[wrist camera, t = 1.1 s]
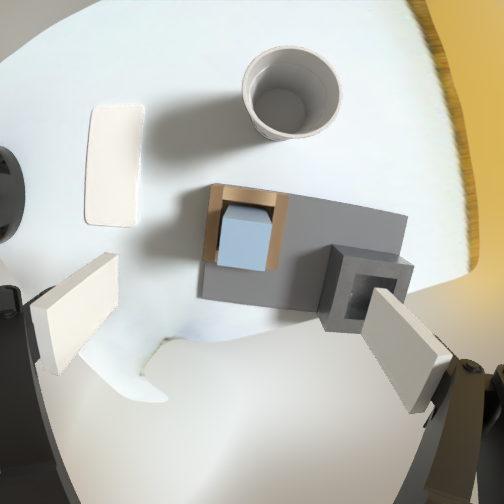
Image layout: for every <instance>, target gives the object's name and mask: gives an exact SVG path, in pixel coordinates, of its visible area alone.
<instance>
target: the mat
mask: <svg viewBox="0 0 504 504" xmlns="http://www.w3.org/2000/svg"><path fill="white" fill-rule="evenodd" d="M215 184H219V183H215ZM223 185H227V184H223ZM231 186H234V185H231ZM239 187H242V186H239ZM246 188H249V187H246ZM253 189H256V188H253ZM260 190H263V189H260ZM267 191H270V190H267ZM273 192H276V191H273ZM280 193H283V192H280ZM286 194H287V195H288V196H289V201H288V208H287V214H286V220H285V226H284V232H283V238H282V244H281V249H280V255H279V261H278V267H277V270H270V269H265V271H257V270H250V269H242V268H235V267H227V266H220V265H217V262H211V261H205V271H204V281H203V291H202V298H203V299H210V300H217V301H224V302H232V303H239V304H247V305H255V306H263V307H272V308H281V309H290V310H299V311H309V312H317V308H318V304H319V300H320V296H321V291H322V287H323V283H324V278H325V274H326V269H327V265H328V260H329V255H330V250H331V245H332V244H335V245H342V246H349V247H355V248H362V249H368V250H374V251H381V252H387V253H393V254H397V255H399V254H400V250H401V246H402V242H403V237H404V233H405V228H406V223H407V219H408V216H405V215H401V214H396V213H391V212H387V211H382V210H377V209H372V208H367V207H362V206H357V205H352V204H346V203H341V202H336V201H330V200H325V199H319V198H313V197H307V196H301V195H295V194H289V193H286Z"/></svg>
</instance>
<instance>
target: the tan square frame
mask: <svg viewBox="0 0 504 504" xmlns="http://www.w3.org/2000/svg"><path fill="white" fill-rule="evenodd" d="M288 201H289V196H288V195H287V194H286V193H280V192H273V191H267V190H260V189H253V188H246V187H239V186H231V185H223V184H212V185H211V191H210V198H209V207H208V215H207V223H206V232H205V241H204V250H203V261H211V262H217V261H218V253H219V245H220V236H221V228H222V220H223V216H224V214H225V212H226V210H227V208H228V206H229V204H236V205H243V206H251V207H258V208H265V209H266V211H267V213H268V216H269V218H270V220H271V223H272V230H271V236H270V242H269V248H268V255H267V261H266V267H265V269H270V270H277V267H278V261H279V255H280V249H281V244H282V238H283V232H284V226H285V220H286V214H287V208H288Z"/></svg>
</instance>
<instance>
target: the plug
mask: <svg viewBox="0 0 504 504" xmlns="http://www.w3.org/2000/svg"><path fill="white" fill-rule="evenodd" d="M271 230H272V223H271V220H270V218H269V216H268V213H267V211H266V209H265V208H258V207H251V206H243V205H236V204H229V206H228V208H227V210H226V212H225V214H224V216H223V220H222V228H221V236H220V245H219V253H218V261H217V265H220V266H227V267H235V268H242V269H250V270H257V271H265V267H266V261H267V255H268V248H269V242H270V236H271Z"/></svg>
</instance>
